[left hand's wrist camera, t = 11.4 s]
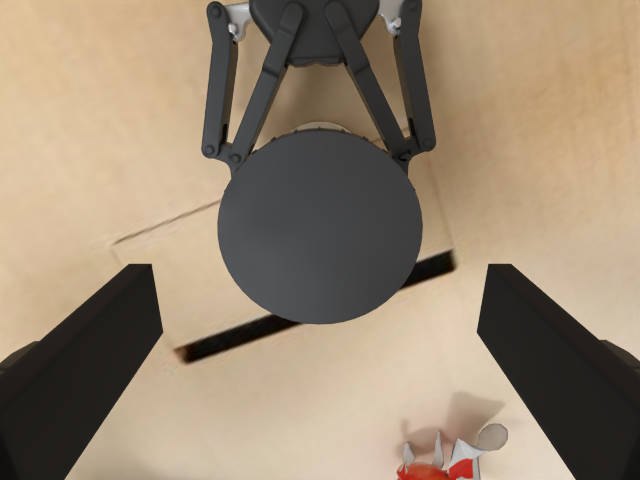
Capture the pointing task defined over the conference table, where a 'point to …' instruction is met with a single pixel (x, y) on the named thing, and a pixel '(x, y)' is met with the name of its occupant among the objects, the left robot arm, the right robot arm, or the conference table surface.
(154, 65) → the conference table surface
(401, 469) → the fish
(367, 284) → the lid
